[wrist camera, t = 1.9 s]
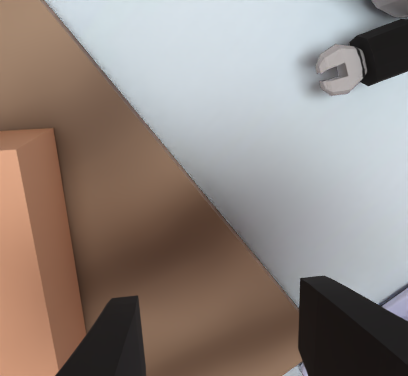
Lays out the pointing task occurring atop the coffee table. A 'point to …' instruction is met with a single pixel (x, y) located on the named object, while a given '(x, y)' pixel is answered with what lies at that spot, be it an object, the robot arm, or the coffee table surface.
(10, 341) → the tong arm
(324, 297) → the robot arm
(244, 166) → the coffee table surface
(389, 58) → the robot toy
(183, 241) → the tong board
